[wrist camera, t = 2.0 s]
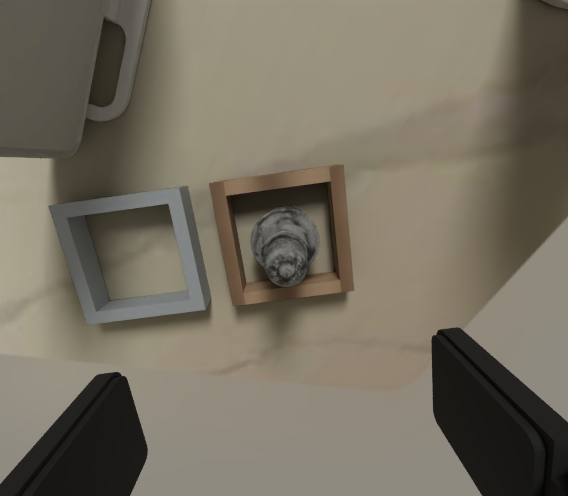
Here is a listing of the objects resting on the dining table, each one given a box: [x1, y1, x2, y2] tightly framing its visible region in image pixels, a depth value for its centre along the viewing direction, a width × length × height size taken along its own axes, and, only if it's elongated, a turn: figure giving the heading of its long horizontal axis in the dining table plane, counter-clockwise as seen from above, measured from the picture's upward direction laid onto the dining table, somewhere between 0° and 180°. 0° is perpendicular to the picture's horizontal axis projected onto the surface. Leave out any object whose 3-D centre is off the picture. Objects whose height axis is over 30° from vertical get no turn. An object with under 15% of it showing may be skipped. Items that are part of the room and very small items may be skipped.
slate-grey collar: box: [49, 186, 211, 325], centre depth 29 cm, size 11×11×2 cm
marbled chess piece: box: [251, 206, 319, 287], centre depth 25 cm, size 6×6×12 cm
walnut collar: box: [209, 165, 354, 306], centre depth 29 cm, size 11×11×2 cm
